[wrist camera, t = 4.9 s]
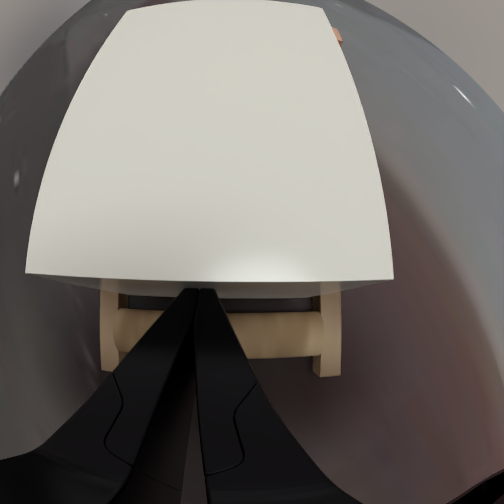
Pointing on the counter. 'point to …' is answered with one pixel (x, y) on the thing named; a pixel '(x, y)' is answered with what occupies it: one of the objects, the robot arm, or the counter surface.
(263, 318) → the roller bed
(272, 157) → the white box on pallet
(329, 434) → the counter surface
